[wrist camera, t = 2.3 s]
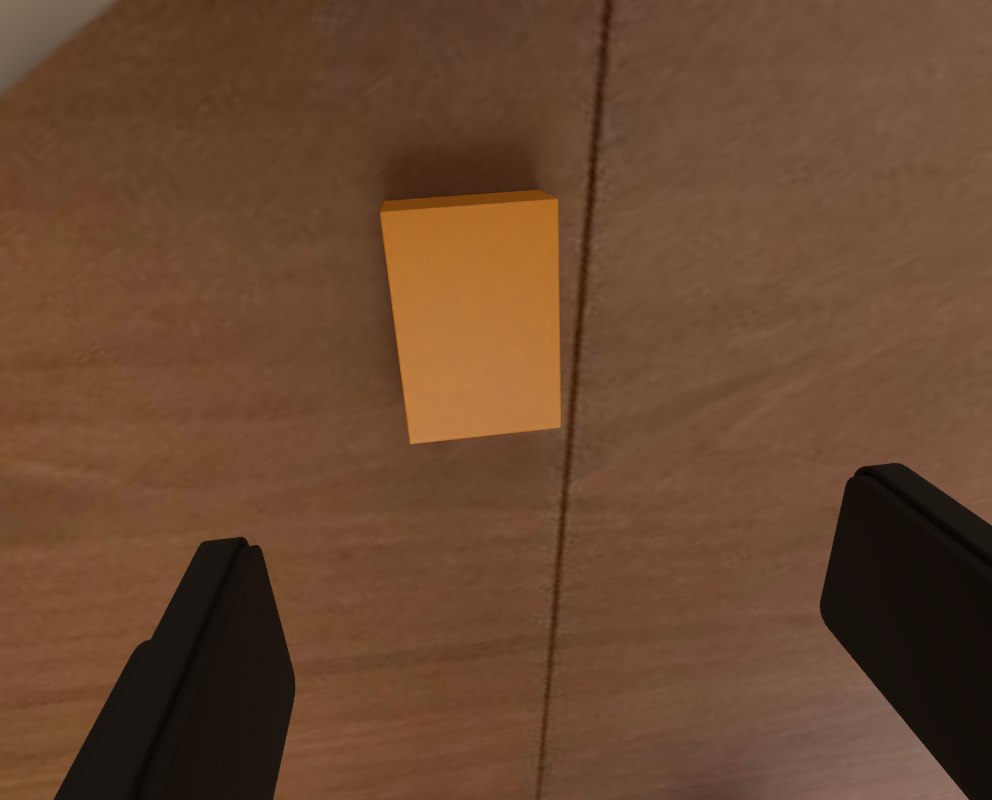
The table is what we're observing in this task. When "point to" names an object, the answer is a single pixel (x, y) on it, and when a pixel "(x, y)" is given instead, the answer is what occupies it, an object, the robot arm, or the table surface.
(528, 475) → the table surface
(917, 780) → the table surface
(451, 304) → the block
